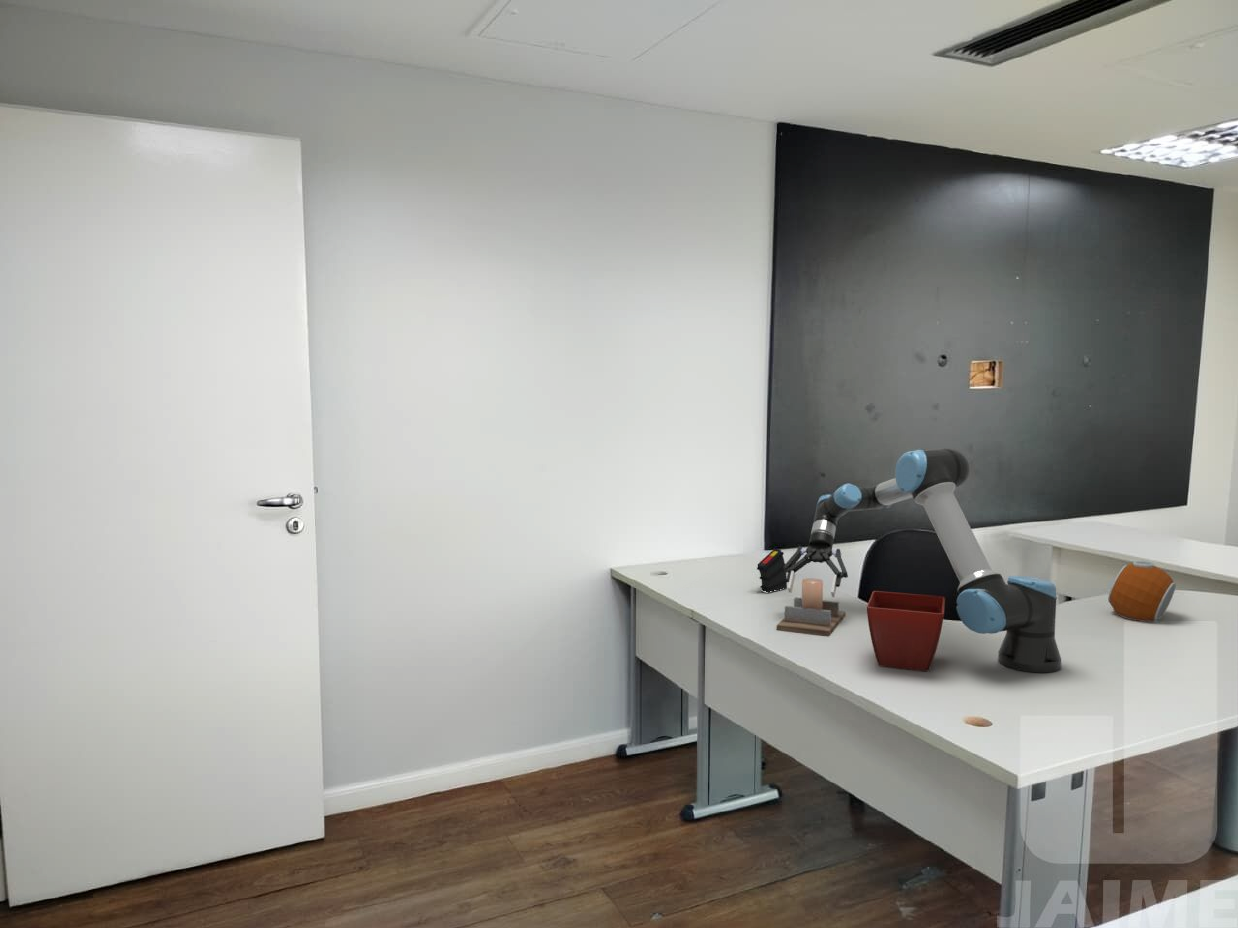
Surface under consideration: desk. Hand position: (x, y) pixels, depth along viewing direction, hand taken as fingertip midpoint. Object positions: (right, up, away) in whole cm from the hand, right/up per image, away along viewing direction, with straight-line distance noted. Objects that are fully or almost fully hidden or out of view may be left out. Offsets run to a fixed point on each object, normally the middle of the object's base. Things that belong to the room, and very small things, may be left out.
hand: (810, 592), depth 266 cm
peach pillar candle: (+1, -8, +1) cm, 8 cm away
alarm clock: (+106, -8, +4) cm, 106 cm away
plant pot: (+17, -13, -37) cm, 43 cm away
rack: (+1, -10, +1) cm, 10 cm away
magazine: (-4, -6, +43) cm, 43 cm away
